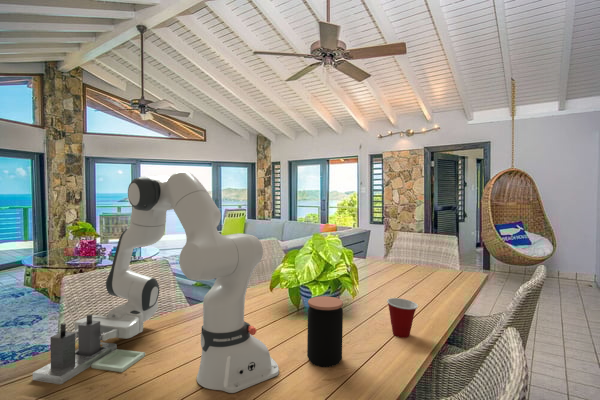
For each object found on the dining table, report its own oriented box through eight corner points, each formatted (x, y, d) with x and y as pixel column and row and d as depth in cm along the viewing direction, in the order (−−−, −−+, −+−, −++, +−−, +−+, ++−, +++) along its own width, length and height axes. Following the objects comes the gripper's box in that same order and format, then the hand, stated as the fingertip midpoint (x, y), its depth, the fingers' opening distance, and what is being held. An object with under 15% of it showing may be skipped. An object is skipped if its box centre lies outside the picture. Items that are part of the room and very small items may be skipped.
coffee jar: (339, 351, 112) (340, 296, 112) (344, 368, 102) (345, 307, 101) (306, 351, 112) (307, 296, 112) (308, 368, 101) (309, 307, 101)
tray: (116, 353, 109) (116, 348, 109) (145, 357, 107) (145, 352, 107) (91, 369, 99) (91, 364, 99) (122, 373, 97) (122, 368, 97)
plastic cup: (419, 342, 120) (420, 307, 120) (387, 339, 122) (387, 305, 122) (415, 330, 131) (416, 298, 130) (385, 327, 133) (386, 296, 132)
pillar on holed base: (92, 348, 112) (92, 305, 112) (116, 351, 110) (116, 307, 110) (32, 381, 93) (32, 329, 92) (60, 386, 91) (60, 332, 91)
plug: (89, 355, 108) (89, 312, 108) (100, 356, 107) (100, 313, 107) (78, 361, 104) (78, 316, 104) (89, 363, 103) (89, 318, 103)
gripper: (94, 308, 121) (59, 322, 107) (147, 313, 116) (117, 329, 103) (94, 326, 121) (59, 343, 107) (147, 332, 116) (117, 350, 103)
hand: (87, 336), depth 105 cm, fingers open, 8 cm apart
